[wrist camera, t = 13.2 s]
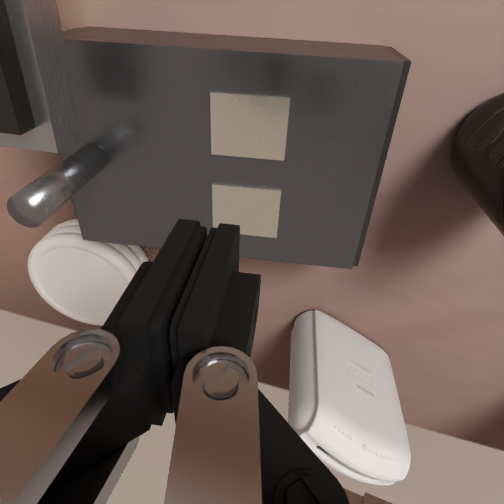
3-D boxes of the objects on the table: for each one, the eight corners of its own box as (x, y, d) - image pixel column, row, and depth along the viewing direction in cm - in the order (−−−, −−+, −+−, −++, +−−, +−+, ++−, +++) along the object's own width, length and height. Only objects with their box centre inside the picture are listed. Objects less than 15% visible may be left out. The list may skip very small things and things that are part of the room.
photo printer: (395, 352, 36) (428, 490, 26) (363, 372, 39) (382, 507, 29) (313, 300, 34) (316, 431, 24) (284, 325, 36) (275, 454, 26)
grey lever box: (389, 46, 22) (459, 96, 12) (350, 222, 29) (372, 349, 19) (88, 26, 23) (-82, 56, 13) (119, 199, 30) (24, 306, 20)
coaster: (156, 230, 32) (141, 254, 29) (152, 312, 38) (139, 338, 35) (40, 204, 32) (14, 225, 29) (54, 289, 38) (33, 314, 35)
